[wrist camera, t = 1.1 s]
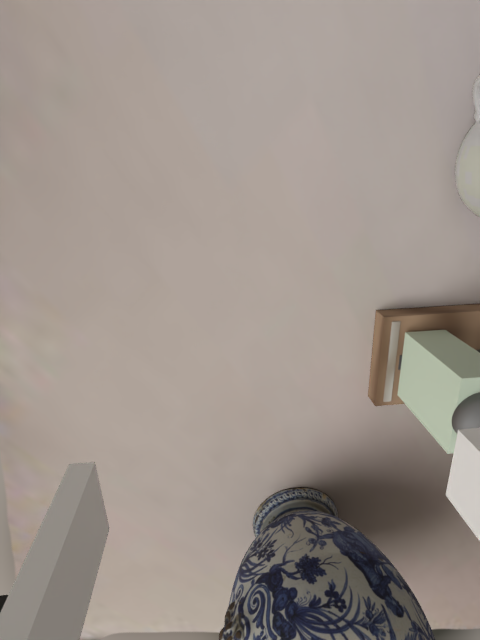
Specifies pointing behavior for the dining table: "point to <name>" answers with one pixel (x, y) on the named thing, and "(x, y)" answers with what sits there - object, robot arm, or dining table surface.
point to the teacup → (470, 160)
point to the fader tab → (441, 384)
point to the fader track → (389, 332)
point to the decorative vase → (317, 579)
